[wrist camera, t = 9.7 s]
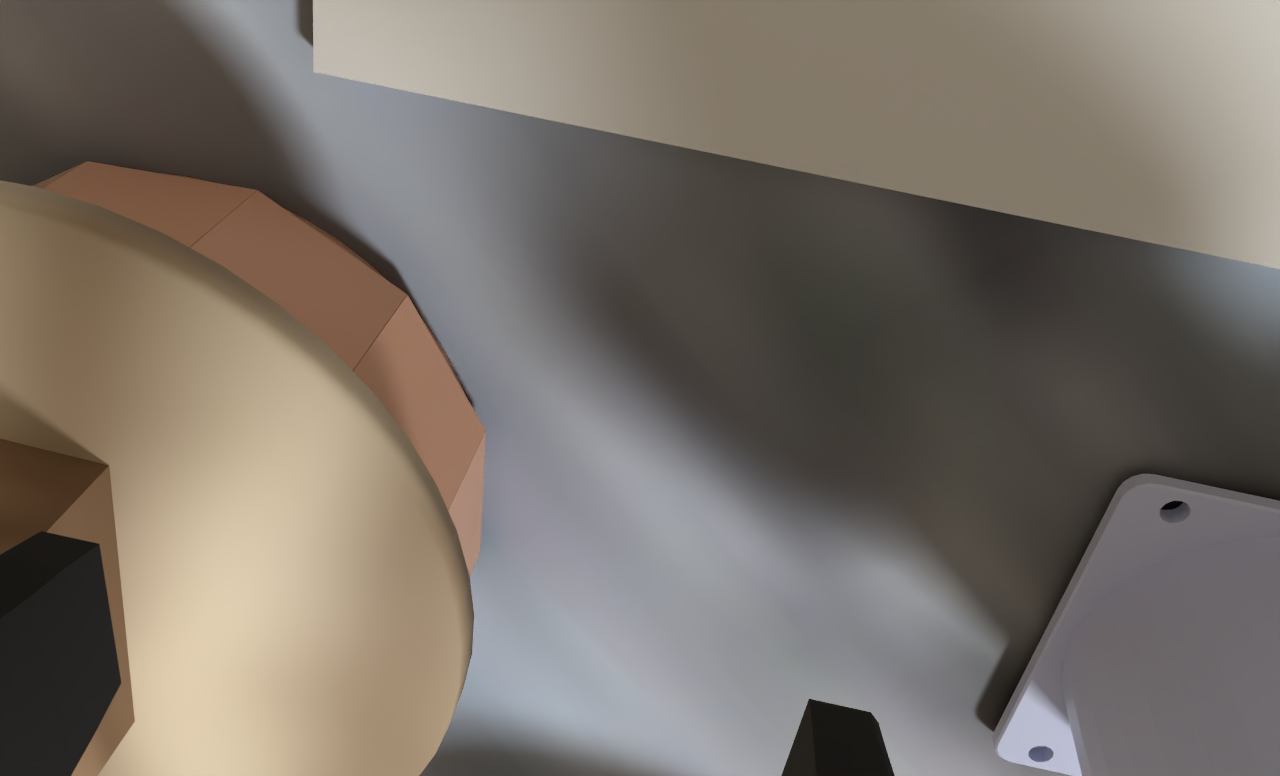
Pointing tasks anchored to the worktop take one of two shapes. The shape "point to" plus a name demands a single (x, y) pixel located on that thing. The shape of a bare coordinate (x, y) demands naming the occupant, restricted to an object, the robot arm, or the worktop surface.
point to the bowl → (318, 309)
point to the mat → (889, 94)
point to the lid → (223, 509)
